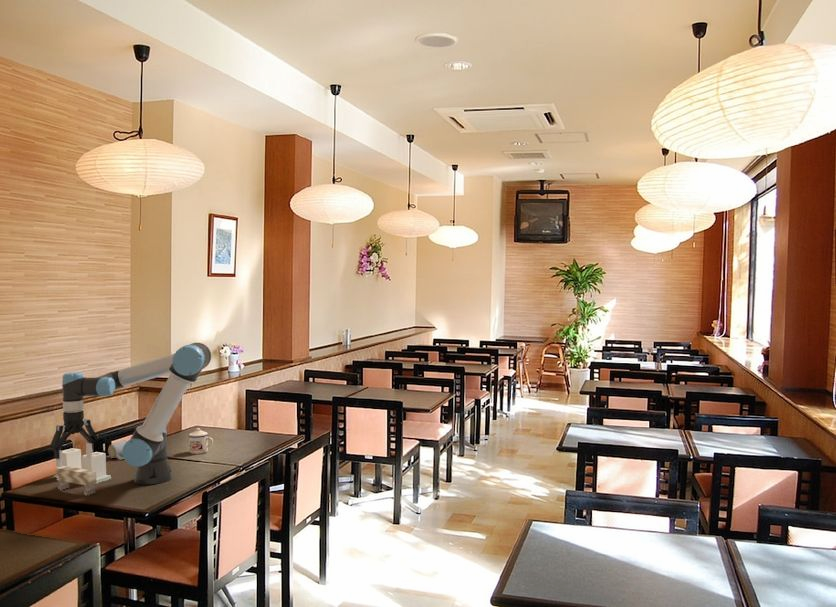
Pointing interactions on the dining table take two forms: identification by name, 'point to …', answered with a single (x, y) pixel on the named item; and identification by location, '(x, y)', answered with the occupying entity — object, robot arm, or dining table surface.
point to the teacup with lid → (199, 442)
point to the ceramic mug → (116, 450)
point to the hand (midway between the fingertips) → (74, 462)
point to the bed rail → (76, 478)
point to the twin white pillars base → (86, 462)
